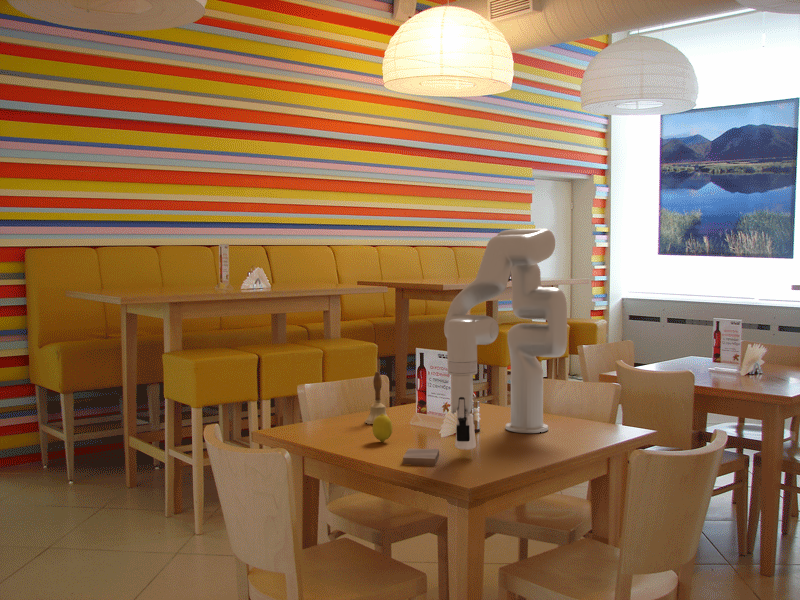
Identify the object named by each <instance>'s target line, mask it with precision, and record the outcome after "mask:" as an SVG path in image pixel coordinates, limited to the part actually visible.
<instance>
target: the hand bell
mask: <svg viewBox="0 0 800 600" xmlns="http://www.w3.org/2000/svg"><path fill="white" fill-rule="evenodd" d="M372 383H373V388H374V393H375V396H374V398H375V399H374V400H375V401H374V403H372V404H371V406H370V411H369V415H368V417H367V418H366V419H365V420H364V424H366V423H367V424H366V425H370V424H373V422H374V420H375V418H376V417H377V416H379V415H381V414H384V415H386V416H387V417H389V416H388V414H387V412H386V406H385V404H383V403H382V401H381V400H382V399H381V389H382V383H383V382H382V376H381V374H380V371H375V374H374V376H373V382H372Z"/></svg>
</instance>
